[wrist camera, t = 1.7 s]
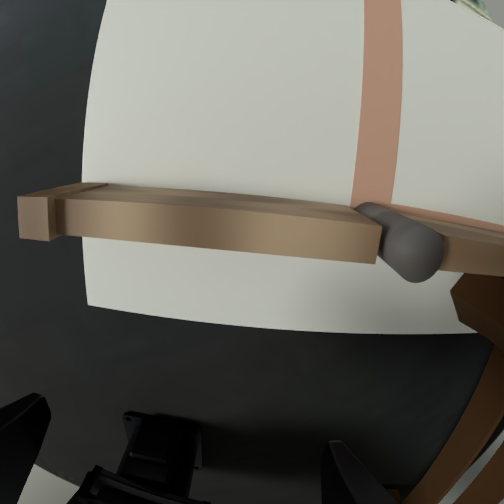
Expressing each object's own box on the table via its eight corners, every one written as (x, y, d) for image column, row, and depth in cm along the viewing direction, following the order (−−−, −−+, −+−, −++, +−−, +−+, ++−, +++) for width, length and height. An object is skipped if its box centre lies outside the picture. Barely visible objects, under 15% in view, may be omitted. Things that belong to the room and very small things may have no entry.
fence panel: (346, 202, 16) (389, 225, 11) (341, 235, 17) (379, 273, 11) (82, 182, 16) (17, 196, 11) (82, 212, 17) (19, 237, 11)
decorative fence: (390, 506, 26) (416, 598, 12) (346, 513, 26) (364, 613, 12) (511, 235, 17) (669, 319, 3) (454, 227, 17) (649, 336, 3)
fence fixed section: (513, 259, 17) (570, 292, 11) (346, 238, 17) (389, 281, 11) (519, 230, 17) (580, 256, 11) (352, 199, 17) (401, 222, 10)
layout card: (487, 328, 20) (492, 332, 19) (91, 301, 19) (87, 305, 19) (521, 42, 13) (526, 41, 12) (122, -37, 13) (119, -41, 12)
